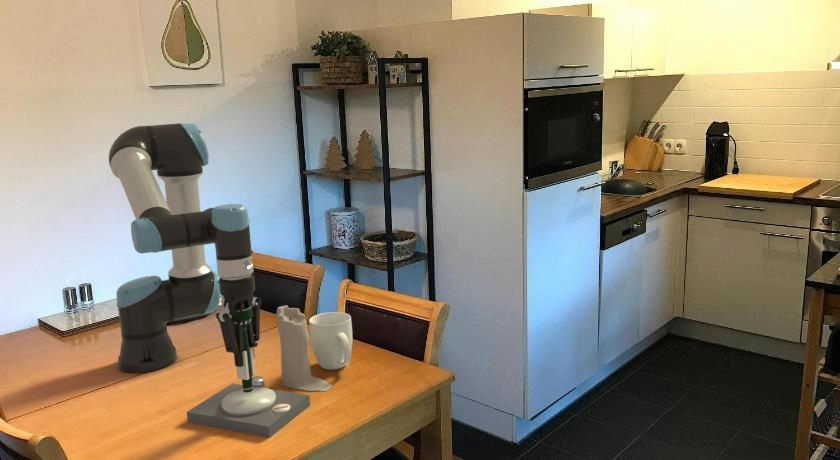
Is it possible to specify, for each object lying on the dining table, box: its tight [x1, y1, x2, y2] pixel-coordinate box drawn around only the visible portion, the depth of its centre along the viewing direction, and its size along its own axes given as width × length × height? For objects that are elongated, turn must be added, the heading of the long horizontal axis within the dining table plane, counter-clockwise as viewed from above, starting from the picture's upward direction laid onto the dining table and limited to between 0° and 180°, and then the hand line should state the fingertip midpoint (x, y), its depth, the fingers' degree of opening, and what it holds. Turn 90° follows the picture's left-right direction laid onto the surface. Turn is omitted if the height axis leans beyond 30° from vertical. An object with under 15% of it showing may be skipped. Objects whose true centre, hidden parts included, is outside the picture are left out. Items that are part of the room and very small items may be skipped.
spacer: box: [252, 375, 266, 388], centre depth 169 cm, size 4×4×2 cm
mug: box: [308, 311, 353, 371], centre depth 179 cm, size 15×11×13 cm
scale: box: [186, 382, 311, 439], centre depth 156 cm, size 22×16×4 cm
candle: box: [276, 304, 333, 392], centre depth 169 cm, size 7×14×20 cm, turn 61°
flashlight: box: [231, 305, 253, 393], centre depth 153 cm, size 5×5×20 cm
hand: (246, 376), depth 154 cm, fingers closed on flashlight, 1 cm apart
